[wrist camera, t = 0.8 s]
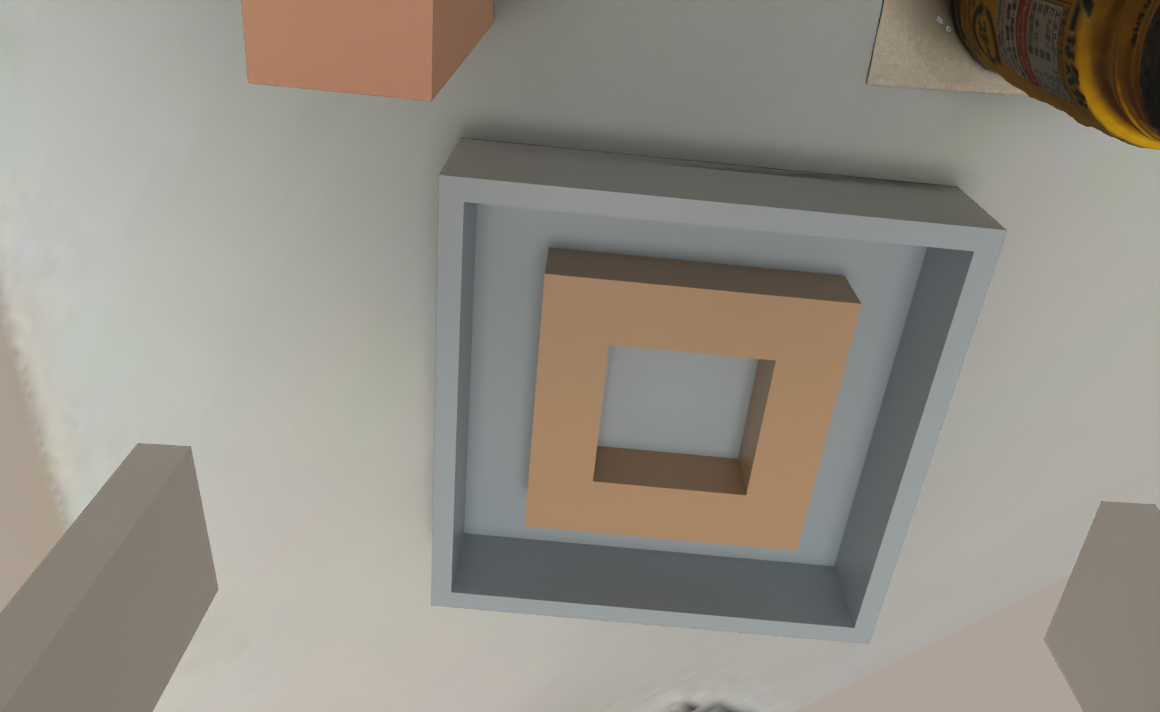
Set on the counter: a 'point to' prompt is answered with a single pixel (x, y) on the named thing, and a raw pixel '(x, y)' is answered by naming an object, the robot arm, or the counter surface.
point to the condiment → (1033, 56)
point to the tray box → (690, 385)
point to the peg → (362, 43)
